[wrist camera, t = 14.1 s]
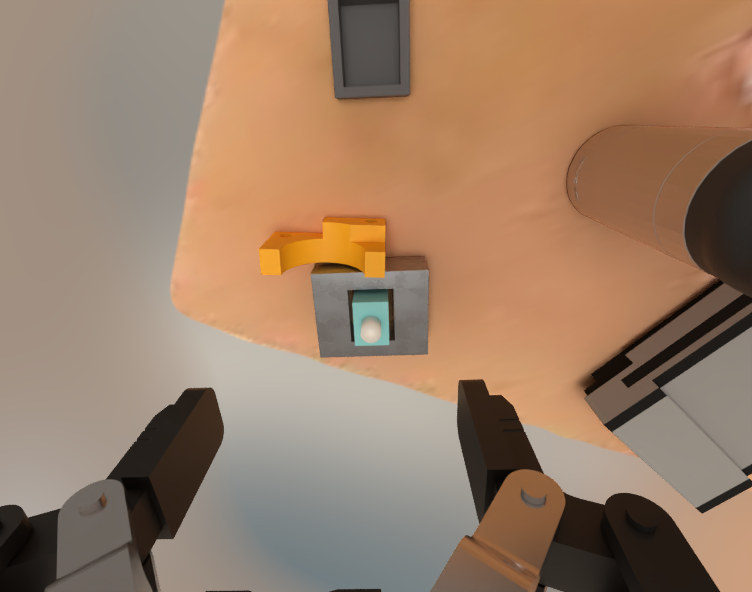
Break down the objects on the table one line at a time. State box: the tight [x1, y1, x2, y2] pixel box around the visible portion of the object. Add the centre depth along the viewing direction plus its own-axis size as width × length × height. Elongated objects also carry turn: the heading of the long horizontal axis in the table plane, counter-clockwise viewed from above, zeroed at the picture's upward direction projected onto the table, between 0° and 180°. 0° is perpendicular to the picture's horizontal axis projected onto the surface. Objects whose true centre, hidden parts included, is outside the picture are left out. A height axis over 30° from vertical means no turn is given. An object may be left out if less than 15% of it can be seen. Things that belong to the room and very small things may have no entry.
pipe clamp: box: [259, 217, 386, 278], centre depth 40 cm, size 12×4×6 cm, turn 89°
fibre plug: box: [352, 289, 389, 346], centre depth 42 cm, size 4×5×8 cm
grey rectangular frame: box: [328, 0, 410, 99], centre depth 35 cm, size 7×8×3 cm
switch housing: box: [311, 256, 429, 357], centre depth 44 cm, size 12×10×4 cm
